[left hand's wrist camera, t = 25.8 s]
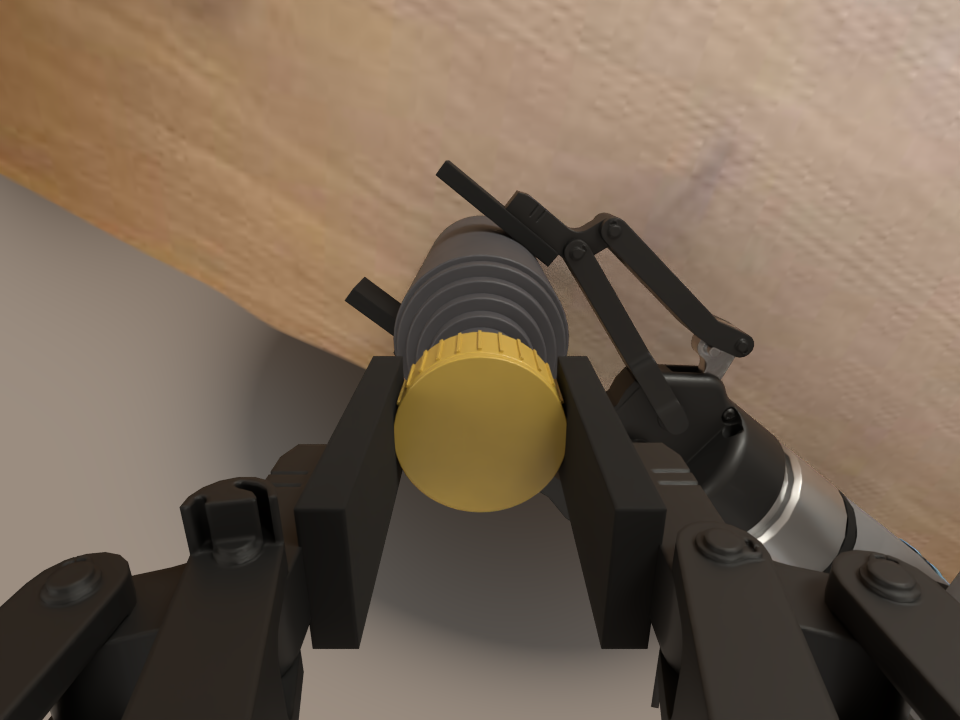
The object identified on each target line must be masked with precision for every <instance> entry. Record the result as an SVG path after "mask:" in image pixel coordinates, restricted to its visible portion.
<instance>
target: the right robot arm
mask: <svg viewBox="0 0 960 720" xmlns="http://www.w3.org/2000/svg"><path fill="white" fill-rule="evenodd" d="M436 176H437V177H439V178H440V179H441V180H442V181H444V182H445V183H446V184H447V185H448V186H450V187H451V188H452V189H453V190H455V191H456V192H457V193H458V194H459V195H461V196H462V197H463V198H464V199H466V200H467V201H468V202H469V203H471V204H472V205H473V206H474V207H475V208H477V209H478V210H479V211H480V212H482V213H483V214H484V215H485V216H486V217H488V218H489V219H490V220H491V221H493V222H494V223H495V224H496V225H497V226H499V227H500V228H501V229H502V230H504V231H505V232H506V233H507V234H508V235H510V236H511V237H512V238H513V239H515V240H516V241H517V242H518V243H520V244H521V245H522V246H523V247H524V248H526V249H527V250H528V251H529V252H531V253H532V254H533V255H534V256H535V257H537V258H538V259H539V260H540V261H542V262H543V263H544V264H545V265H546V266H549V265H550V264H551V263H552V262H553V260H554V259H555V258H556V257H557V256H558V254H559V255H560V256H561V257H562V258H563V260H564V261H565V263H566V265H567V266H568V268H569V270H570V271H571V273H572V275H573V277H574V278H575V280H576V282H577V283H578V285H579V287H580V288H581V290H582V292H583V293H584V295H585V297H586V299H587V300H588V302H589V304H590V305H591V307H592V309H593V310H594V312H595V314H596V315H597V317H598V319H599V321H600V322H601V324H602V326H603V327H604V329H605V331H606V332H607V334H608V336H609V337H610V339H611V341H612V343H613V344H614V346H615V348H616V349H617V351H618V353H619V355H620V357H621V358H622V360H623V362H624V363H625V365H626V367H627V368H626V367H625V368H624V369H623V370H622V371H621V372H620V373H619V374H618V375H617V376H616V378H615V379H614V381H613V383H612V385H611V387H610V388H609V390H608V391H606V394H607V395H608V397H609V399H610V401H611V403H612V405H613V407H614V409H615V411H616V413H617V415H618V416H619V418H620V420H621V422H622V424H623V426H624V428H625V430H626V432H627V434H628V436H629V437H630V439H631V441H632V443H663V444H665V445H666V446H668V447H669V448H671V449H672V450H673V451H675V452H676V453H678V454H679V455H680V456H681V457H682V459H683V460H684V462H685V463H686V465H687V466H688V468H689V469H690V473H692V474H693V475H694V477H695V478H696V480H697V481H698V485H700V486H701V487H702V489H703V490H704V492H705V493H706V495H707V496H708V498H709V499H710V501H711V503H712V504H713V506H714V507H715V509H716V510H717V512H718V513H719V515H720V516H721V518H722V519H723V521H724V522H725V524H729V525H732V526H735V527H737V528H739V529H741V530H744V531H746V532H748V533H750V534H751V535H752V536H754V537H755V538H756V539H758V540H759V541H760V542H762V544H763V545H764V547H765V548H766V549H767V551H768V552H769V554H770V556H771V558H772V560H774V561H777V562H780V563H784V564H787V565H791V566H796V567H800V568H805V569H810V570H815V571H819V572H824V573H830V569H831V566H832V562H833V559H834V558H836V557H837V556H838V555H839V554H840V553H841V552H847V551H852V550H863V551H874V552H878V553H882V554H885V555H889V556H892V557H895V558H898V559H900V560H902V561H904V562H906V563H908V564H910V565H912V566H914V567H916V568H918V569H919V570H921V571H922V572H923V573H925V574H926V575H928V576H929V577H930V578H932V579H933V580H935V581H936V582H937V583H938V584H939V585H940V586H941V587H943V588H944V589H945V590H946V591H947V592H948V593H949V594H950V595H951V596H953V597H954V598H955V599H956V600H957V601H958V602H959V603H960V572H959V573H958V574H957V576H956V577H955V579H954V580H953V581H952V583H951V584H949V583H948V582H947V581H946V580H945V579H944V578H943V577H942V575H941V573H940V572H939V571H938V570H937V569H936V567H935V566H933V565H932V564H931V563H929V562H928V561H927V560H926V559H925V558H924V557H922V556H921V554H920V552H918V551H917V550H916V549H915V548H913V547H912V546H910V545H909V544H908V543H907V542H905V541H904V540H902V539H899V538H897V537H896V536H895V535H894V534H893V533H891V532H890V531H889V530H888V529H886V528H885V527H884V526H883V525H881V524H880V523H879V522H878V521H876V520H875V519H874V518H872V517H871V516H870V515H869V514H867V513H866V512H865V511H863V510H862V509H861V508H860V507H858V506H857V505H856V504H854V503H853V502H852V501H851V500H849V499H848V498H847V497H845V496H844V495H843V494H842V493H841V492H840V491H839V490H838V489H837V487H835V486H834V485H833V484H832V483H831V482H829V481H828V480H827V479H826V478H825V477H823V476H822V475H821V474H820V473H819V472H817V471H816V470H815V469H814V468H812V467H811V466H810V465H809V464H808V463H806V462H805V461H804V460H803V459H802V458H800V457H799V456H798V455H797V454H796V453H794V452H793V451H792V450H791V449H789V448H788V447H787V446H785V445H784V444H782V443H780V442H779V441H778V440H777V438H776V437H775V436H774V435H772V434H771V433H770V432H769V431H768V430H766V429H765V428H764V427H763V426H762V425H760V424H759V423H758V422H757V421H756V420H754V419H753V418H752V417H751V416H749V415H748V414H747V413H746V412H745V411H743V410H742V409H741V408H740V407H739V406H737V405H736V404H735V403H734V402H733V401H731V400H730V399H729V398H728V396H727V394H726V390H725V387H724V384H723V382H722V381H721V378H722V377H723V375H724V374H725V372H726V370H727V369H728V367H729V366H730V364H731V362H732V361H733V359H734V358H735V357H745V356H747V355H748V354H749V353H750V352H751V351H752V350H753V347H754V341H753V339H752V337H750V336H749V335H747V334H746V333H744V332H743V331H741V330H740V329H738V328H737V327H735V326H734V325H732V324H731V323H729V322H728V321H725V320H723V319H721V318H719V317H717V316H714V315H712V314H711V313H710V312H709V311H708V310H707V309H706V308H705V307H704V306H703V304H702V303H701V302H700V301H699V300H698V299H697V298H696V297H695V296H694V295H693V294H692V293H691V292H690V291H689V290H688V288H687V287H686V286H685V285H684V284H683V283H682V282H681V281H680V280H679V279H678V278H677V277H676V276H675V275H674V274H673V273H672V271H671V270H670V269H669V268H668V267H667V266H666V265H665V264H664V263H663V262H662V261H661V260H660V259H659V258H658V257H657V256H656V254H655V253H654V252H653V251H652V250H651V249H650V248H649V247H648V246H647V245H646V244H645V243H644V242H643V241H642V240H641V239H640V237H639V236H638V235H637V234H636V233H635V232H634V231H633V230H632V229H631V228H630V227H629V226H628V225H627V224H626V223H625V221H623V220H622V219H620V218H618V217H616V216H613V215H611V214H609V213H600V214H598V215H597V216H595V218H594V219H593V220H592V221H590V222H588V223H587V224H585V225H583V226H581V227H579V228H570V227H567V226H565V225H564V224H563V223H562V222H561V221H560V220H558V219H557V218H556V217H555V216H554V215H552V214H551V213H550V212H549V211H548V210H546V209H545V208H544V207H543V206H542V205H541V204H539V203H538V202H537V201H536V200H535V199H533V198H532V197H531V196H530V195H529V194H527V193H523V192H520V191H516V192H515V194H514V195H513V196H512V197H511V199H510V200H509V201H508V203H507V204H506V205H505V206H504V205H502V204H501V203H500V202H499V201H497V200H496V199H495V198H494V197H493V196H491V195H490V194H489V193H488V192H487V191H485V190H484V189H483V188H482V187H481V186H479V185H478V184H477V183H476V182H475V181H473V180H472V179H471V178H470V177H469V176H467V175H466V174H465V173H464V172H462V171H461V170H460V169H459V168H458V167H456V166H455V165H454V164H453V163H452V162H450V161H445V163H444V164H443V165H442V167H441V168H440V169H439V171H438V172H437V174H436ZM605 248H608V249H609V250H610V251H611V252H612V253H613V254H614V255H615V256H616V257H617V258H618V259H619V260H620V261H621V262H622V263H623V264H624V265H625V266H626V267H627V268H628V269H629V270H630V271H631V272H632V274H633V275H634V276H635V277H636V278H637V279H638V280H639V281H640V282H641V283H642V284H643V285H644V286H645V287H646V288H647V289H648V290H649V291H650V292H651V293H652V294H653V295H654V296H655V297H656V298H657V299H658V300H659V301H660V303H661V304H662V305H663V306H664V307H665V308H666V309H667V310H668V311H669V312H670V313H671V314H672V315H673V316H674V317H675V318H676V319H677V320H678V321H679V322H680V323H681V324H682V325H684V326H685V327H686V328H687V329H689V330H690V331H691V332H692V333H693V334H694V335H693V337H692V340H691V346H692V348H693V350H694V351H696V352H697V353H698V354H699V356H700V363H699V365H698V366H689V365H664V364H657V363H656V362H655V360H654V358H653V357H652V356H651V354H650V353H649V351H648V349H647V347H646V346H645V344H644V342H643V340H642V339H641V337H640V335H639V333H638V332H637V330H636V328H635V326H634V325H633V323H632V321H631V319H630V318H629V316H628V314H627V312H626V311H625V309H624V307H623V305H622V304H621V302H620V300H619V298H618V297H617V295H616V293H615V291H614V290H613V288H612V286H611V284H610V283H609V281H608V279H607V277H606V276H605V274H604V272H603V270H602V269H601V267H600V265H599V263H598V262H597V260H596V258H595V256H594V255H595V254H597V253H598V252H600V251H602V250H603V249H605ZM345 301H346V302H347V303H349V304H350V305H351V306H353V307H354V308H355V309H357V310H358V311H360V312H361V313H362V314H364V315H365V316H367V317H368V318H369V319H371V320H372V321H373V322H375V323H376V324H378V325H379V326H380V327H382V328H383V329H384V330H386V331H387V332H389V333H390V334H391V335H393V336H394V326H395V321H396V316H397V313H398V311H399V308H400V305H401V303H399V302H398V301H397V300H395V299H394V298H393V297H391V296H390V295H389V294H387V293H386V292H385V291H383V290H382V289H380V288H379V287H378V286H376V285H375V284H374V283H372V282H371V281H370V280H368V279H367V278H366V277H364V278H363V279H362V280H361V281H360V282H359V283H358V284H357V285H356V286H355V287H354V288H353V290H352V291H351V292H350V294H349V295H348V297H347V298H346V299H345ZM393 353H394V355H395V356H396V354H395V350H394V352H393ZM540 492H541V493H542V494H544V495H546V496H548V497H549V498H550V500H551V501H552V502H553V503H554V504H555V506H556V507H557V508H558V509H559V510H560V512H561V513H562V514H563V515H564V517H565V518H567V519H568V520H570V518H569V514H568V510H567V505H566V501H565V497H564V493H563V489H562V485H561V481H560V477H559V473H558V471H557V473H556V474H555V476H554V477H553V479H552V480H551V481H550V482H549V483H548V484H547V485H546V486H545V487H544V488H543V489H542V490H541V491H540ZM910 715H911V716H912V717H913V718H914V719H915V720H921V719H920V717H919V716H918V715H917V714H916V713H915V711H914V710H913V709H912V708H911V711H910Z"/></svg>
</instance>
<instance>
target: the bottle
mask: <svg viewBox="0 0 960 720" xmlns="http://www.w3.org/2000/svg"><path fill="white" fill-rule="evenodd" d="M478 330H481V331H482V332H490V333H496V334H498V332H500V333H502V335H505V336H508V337H511V338H513V339H515V340H517V339H520V341H521V343H523V344H525V345H526V346H528V347H529V348H531V349H532V350H533V349H535V350H536V352H537V355H538V356H539V357H540V358H541V359H542V360H543V361H544V363H545V364H546V363H548V365H549V367H550V370H551V373H552V376H553V379H556V378H557V359H558V356H567V351H568V341H569V333H568V324H567V319H566V315H565V312H564V310H563V307H562V305H561V302H560V300H559V299H558V297H557V295H556V293H555V291H554V290H553V288H552V286H551V284H550V282H549V281H548V279H547V277H546V275H545V273H544V272H543V270H542V268H541V266H540V265H539V263H538V261H537V259H536V257H535V256H534V255H533V254H532V253H531V252H529V251H528V250H527V249H526V248H524V247H523V246H522V245H521V244H520V243H518V242H517V241H516V240H515V239H513V238H512V237H511V236H510V235H508V234H507V233H506V232H505V231H504V230H502V229H501V228H500V227H499V226H497V225H496V224H495V223H494V222H493V221H491V220H490V219H489V218H488V217H486V216H473V217H468V218H464V219H461V220H459V221H457V222H455V223H453V224H452V225H450V226H449V227H448V228H446V229H445V230H444V231H443V232H442V233H441V234H440V235H439V237H438V238H437V240H436V241H435V243H434V245H433V246H432V248H431V250H430V252H429V254H428V255H427V257H426V259H425V261H424V263H423V265H422V266H421V268H420V270H419V272H418V274H417V275H416V277H415V279H414V281H413V283H412V285H411V286H410V288H409V290H408V292H407V294H406V296H405V297H404V299H403V301H402V303H401V305H400V308H399V311H398V313H397V316H396V321H395V326H394V349H395V354H396V356H403V372H404V378H405V380H407V379H408V375H409V372H410V369H411V366H412V364H416V363H417V361H418V360H419V359H420V358H421V357H422V356H423V353H424V351H425V350H427V351H428V350H429V349H431V348H432V347H433V346H435V345H436V344H438V343H439V341H440V340H441V339H443V340H446V339H448V338H450V337H453V336H456V335H458V333H462V334H465V333H471V332H478Z"/></svg>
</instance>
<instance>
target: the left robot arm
mask: <svg viewBox="0 0 960 720" xmlns="http://www.w3.org/2000/svg"><path fill="white" fill-rule="evenodd" d="M556 380H557V383H558V386H559V389H560V392H561V395H562V398H563V400H564V403H563V404H562V406H563V409H564V412H565V416H566V419H567V426H566V443H565V456H564V459H563V461H562V463H561V466H560V468H559V470H558V473H559V477H560V481H561V485H562V489H563V493H564V497H565V501H566V505H567V510H568V514H569V518H570V522H571V526H572V530H573V534H574V538H575V542H576V546H577V550H578V555H579V559H580V563H581V567H582V571H583V575H584V579H585V583H586V587H587V591H588V596H589V600H590V604H591V608H592V612H593V616H594V620H595V624H596V628H597V632H598V637H599V640H600V645H601V648H602V649H647V648H648V642H649V635H650V627H651V623H652V626H653V628H654V631H655V634H656V637H657V640H658V642H659V645H660V650H659V657H658V664H657V670H656V677H655V684H654V691H653V697H652V704H651V707H655V708H659V702H660V710H661V719H662V720H915V719H914V718H913V717H912V716H911V715H910V711H911V708H912V709H913V710H914V711H915V713H916V714H917V715H918V716H919V717H920V719H921V720H960V603H959V602H958V601H957V600H956V599H955V598H954V597H953V596H951V595H950V594H949V593H948V592H947V591H946V590H945V589H944V588H943V587H941V586H940V585H939V584H938V583H937V582H936V581H935V580H933V579H932V578H930V577H929V576H928V575H926V574H925V573H923V572H922V571H921V570H919V569H918V568H916V567H914V566H912V565H910V564H908V563H906V562H904V561H902V560H900V559H898V558H895V557H892V556H889V555H885V554H882V553H878V552H874V551H863V550H852V551H847V552H841V553H840V554H839V555H838V556H837V557H836V558H834V559H833V562H832V566H831V569H830V573H824V572H819V571H815V570H810V569H805V568H800V567H796V566H791V565H787V564H784V563H780V562H777V561H774V560H772V558H771V556H770V554H769V552H768V551H767V549H766V548H765V547H764V545H763V544H762V542H760V541H759V540H758V539H756V538H755V537H754V536H752V535H751V534H750V533H748V532H746V531H744V530H741V529H739V528H737V527H735V526H732V525H729V524H725V522H724V521H723V519H722V518H721V516H720V515H719V513H718V512H717V510H716V509H715V507H714V506H713V504H712V503H711V501H710V499H709V498H708V496H707V495H706V493H705V492H704V490H703V489H702V487H701V486H700V485H698V481H697V480H696V478H695V477H694V475H693V474H692V473H690V469H689V468H688V466H687V465H686V463H685V462H684V460H683V459H682V457H681V456H680V455H679V454H678V453H676V452H675V451H673V450H672V449H671V448H669V447H668V446H666V445H665V444H663V443H632V441H631V439H630V437H629V436H628V434H627V432H626V430H625V428H624V426H623V424H622V422H621V420H620V418H619V416H618V415H617V413H616V411H615V409H614V407H613V405H612V403H611V401H610V399H609V397H608V395H607V394H606V392H605V390H604V388H603V386H602V384H601V382H600V380H599V378H598V376H597V374H596V373H595V371H594V369H593V367H592V365H591V363H590V361H589V359H588V357H587V356H558V359H557V378H556ZM403 383H404V372H403V356H373V358H372V360H371V362H370V364H369V366H368V367H367V369H366V371H365V373H364V375H363V377H362V379H361V381H360V383H359V385H358V387H357V388H356V391H355V392H354V394H353V396H352V398H351V400H350V402H349V404H348V406H347V408H346V410H345V411H344V413H343V415H342V417H341V419H340V421H339V423H338V425H337V427H336V429H335V431H334V433H333V434H332V436H331V438H330V440H329V442H328V444H298V445H297V446H295V447H294V448H293V449H291V450H290V451H288V452H287V453H285V454H284V455H283V456H281V457H280V458H279V460H278V461H277V463H276V465H275V466H274V468H273V469H272V471H271V475H268V477H267V478H266V480H264V479H260V478H256V477H237V478H232V479H227V480H222V481H218V482H216V483H213V484H210V485H208V486H205V487H203V488H201V489H200V490H198V491H197V492H195V493H194V494H192V495H190V496H189V497H188V498H187V499H186V500H185V501H184V503H183V504H182V505H181V506H180V511H181V516H182V520H183V524H184V529H185V533H186V538H187V542H188V547H189V551H190V556H189V559H188V561H187V563H185V564H182V565H178V566H175V567H171V568H166V569H162V570H157V571H153V572H148V573H143V574H138V575H134V576H132V575H131V571H130V568H129V564H128V562H127V561H126V560H125V559H124V558H123V557H122V556H121V555H118V554H113V553H107V552H102V553H92V554H85V555H81V556H77V557H75V558H74V557H73V558H70V559H67V560H64V561H62V562H61V563H58V564H57V565H54V566H52V567H50V568H48V569H46V570H44V571H43V572H41V573H40V574H39V575H37V576H36V577H34V578H33V579H32V580H30V581H29V582H28V583H26V584H25V585H24V586H23V587H22V588H21V589H19V590H18V591H17V592H16V593H15V594H14V595H13V596H12V597H11V598H10V599H8V600H7V601H6V602H5V603H4V604H3V605H2V606H1V607H0V720H43V718H44V717H45V716H46V715H47V713H48V712H49V711H50V712H51V715H52V716H51V717H50V718H49V720H299V711H300V702H301V692H302V683H303V673H304V671H303V664H302V657H301V650H300V649H301V646H302V643H303V640H304V638H305V635H306V632H307V630H308V627H309V625H310V632H311V639H312V647H313V649H359V646H360V642H361V638H362V634H363V630H364V626H365V622H366V617H367V613H368V609H369V605H370V601H371V597H372V593H373V589H374V585H375V581H376V576H377V572H378V568H379V564H380V560H381V556H382V552H383V548H384V544H385V540H386V535H387V531H388V527H389V523H390V519H391V515H392V511H393V507H394V503H395V499H396V494H397V490H398V486H399V482H400V478H401V474H402V470H403V469H402V468H401V466H400V463H399V461H398V459H397V456H396V452H395V438H394V420H395V416H396V412H397V409H398V406H399V405H397V401H398V398H399V395H400V392H401V389H402V386H403Z"/></svg>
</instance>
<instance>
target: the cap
mask: <svg viewBox="0 0 960 720" xmlns="http://www.w3.org/2000/svg"><path fill="white" fill-rule="evenodd" d="M563 403H564V400H563V398H562V395H561V392H560V389H559V386H558V383H557V380H556V379H553V376H552V373H551V370H550V367H549V365H548V363H546V364H545V363H544V361H543V360H542V359H541V358H540V357H539V356H538V355H537V352H536V350H535V349H533V350H532V349H531V348H529V347H528V346H526V345H525V344H523V343H521V341H520V339H517V340H515V339H513V338H511V337H508V336H505V335H502V333H500V332H498V334H496V333H490V332H482V331H481V330H478V332H471V333H465V334H462V333H458V335H456V336H453V337H450V338H448V339H446V340H443V339H441V340H440V341H439V343H438V344H436V345H435V346H433V347H432V348H431V349H429V350H428V351H427V350H425V351H424V353H423V356H422V357H421V358H420V359H419V360H418V361H417V363H416V364H412V366H411V369H410V372H409V375H408V379H407V380H404V383H403V386H402V389H401V392H400V395H399V398H398V401H397V405H399V406H398V409H397V412H396V416H395V420H394V438H395V452H396V456H397V459H398V461H399V463H400V466H401V468H402V469H403V471H404V473H405V474H406V476H407V477H408V478H409V480H410V481H411V482H412V483H413V484H414V485H415V486H416V487H417V488H418V489H419V490H420V491H421V492H423V493H424V494H425V495H427V496H428V497H429V498H431V499H433V500H435V501H436V502H438V503H441V504H443V505H445V506H448V507H451V508H454V509H457V510H463V511H469V512H492V511H499V510H503V509H507V508H511V507H513V506H516V505H518V504H521V503H523V502H525V501H526V500H528V499H530V498H532V497H533V496H534V495H536V494H537V493H539V492H540V491H541V490H542V489H543V488H544V487H545V486H546V485H547V484H548V483H549V482H550V481H551V480H552V479H553V477H554V476H555V474H556V473H557V471H558V470H559V468H560V466H561V463H562V461H563V459H564V456H565V443H566V426H567V419H566V416H565V412H564V409H563V406H562V404H563Z"/></svg>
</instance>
